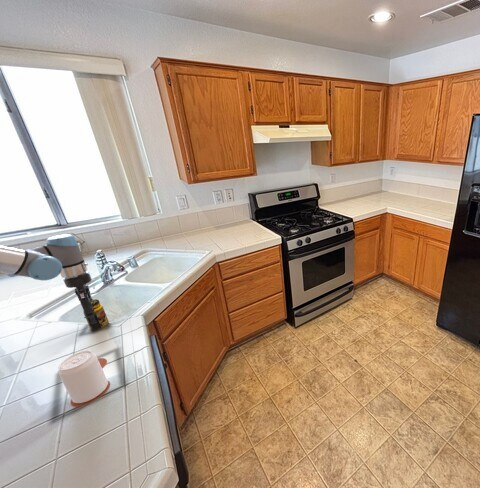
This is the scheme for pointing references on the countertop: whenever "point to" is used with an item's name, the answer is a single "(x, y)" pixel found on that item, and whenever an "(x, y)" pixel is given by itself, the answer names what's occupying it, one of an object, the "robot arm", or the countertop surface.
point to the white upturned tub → (82, 376)
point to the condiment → (99, 314)
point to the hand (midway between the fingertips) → (96, 324)
